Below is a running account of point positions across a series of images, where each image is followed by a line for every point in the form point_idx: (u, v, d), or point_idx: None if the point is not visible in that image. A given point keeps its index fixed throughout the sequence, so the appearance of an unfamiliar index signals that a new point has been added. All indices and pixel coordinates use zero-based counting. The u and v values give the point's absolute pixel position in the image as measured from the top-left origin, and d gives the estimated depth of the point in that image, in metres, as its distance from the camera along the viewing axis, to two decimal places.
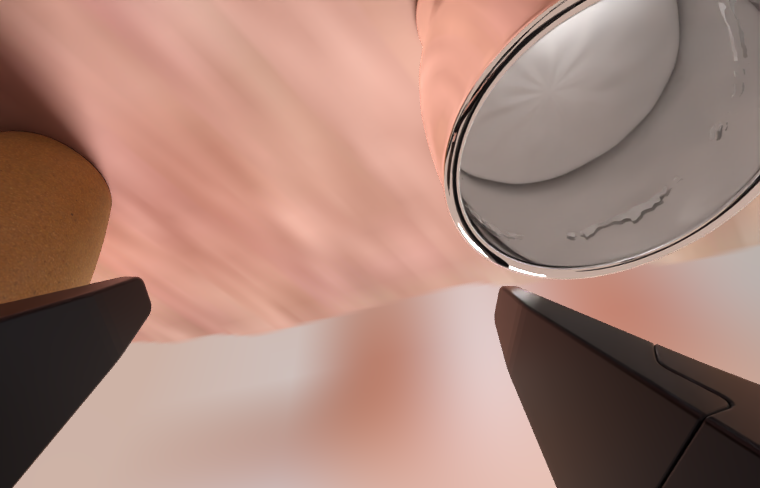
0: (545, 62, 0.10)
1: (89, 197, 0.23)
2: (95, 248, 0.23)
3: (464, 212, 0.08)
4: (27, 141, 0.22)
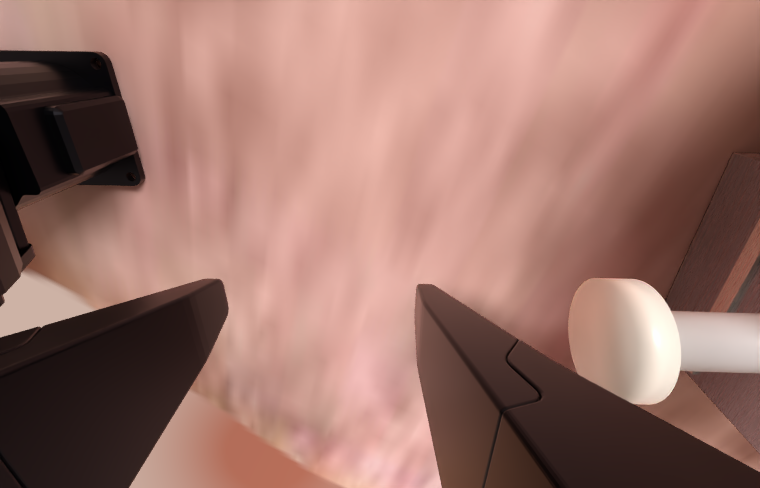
0: None
1: None
2: None
3: None
4: None
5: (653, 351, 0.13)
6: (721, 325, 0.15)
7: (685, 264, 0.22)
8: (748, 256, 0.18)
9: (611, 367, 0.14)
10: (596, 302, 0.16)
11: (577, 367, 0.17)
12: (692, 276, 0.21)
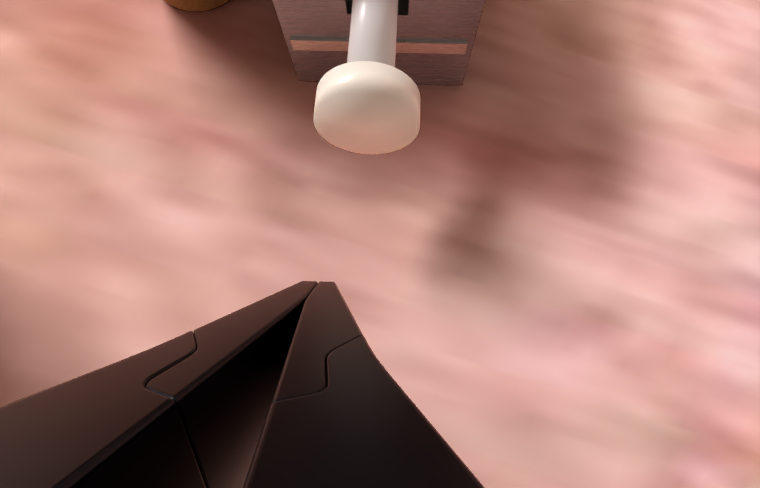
0: None
1: None
2: None
3: None
4: None
5: (333, 85, 0.16)
6: (348, 46, 0.18)
7: None
8: None
9: (371, 109, 0.16)
10: (342, 135, 0.18)
11: (414, 134, 0.18)
12: None
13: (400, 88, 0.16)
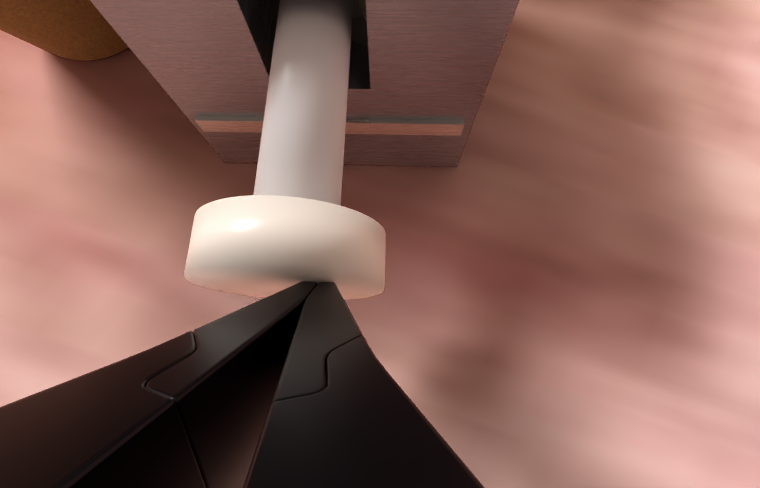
0: None
1: None
2: None
3: None
4: (66, 45, 0.19)
5: (207, 241, 0.08)
6: (261, 135, 0.11)
7: (349, 162, 0.19)
8: None
9: (287, 276, 0.09)
10: (252, 290, 0.11)
11: (376, 292, 0.10)
12: (355, 154, 0.18)
13: (339, 244, 0.08)
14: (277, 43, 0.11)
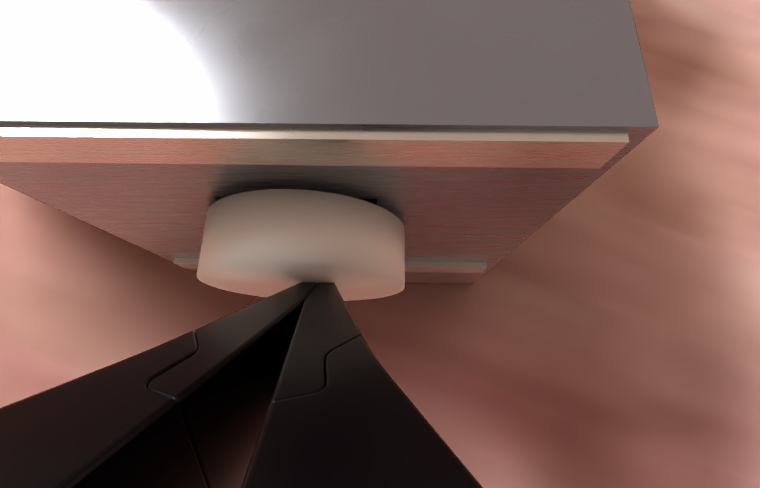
0: None
1: None
2: None
3: None
4: None
5: (222, 238, 0.08)
6: None
7: None
8: None
9: (306, 275, 0.08)
10: (265, 290, 0.10)
11: (394, 291, 0.10)
12: None
13: (361, 241, 0.08)
14: None
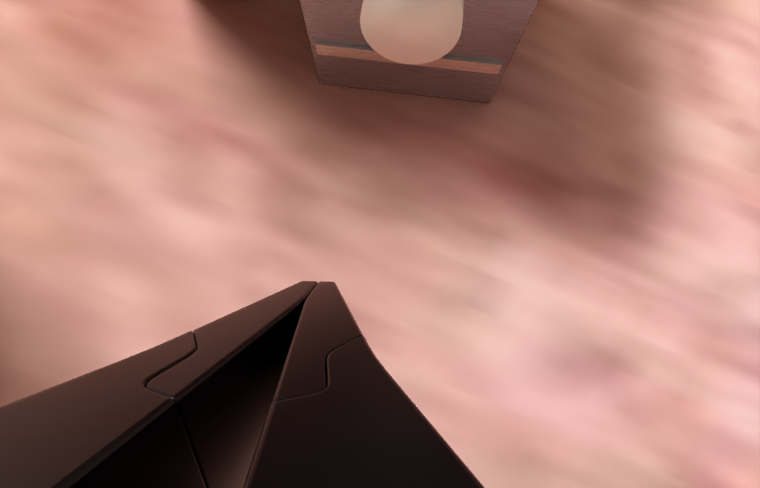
0: None
1: None
2: None
3: None
4: None
5: None
6: None
7: (412, 91, 0.26)
8: (376, 56, 0.23)
9: (418, 5, 0.17)
10: (384, 37, 0.19)
11: (453, 41, 0.19)
12: (418, 85, 0.25)
13: None
14: None
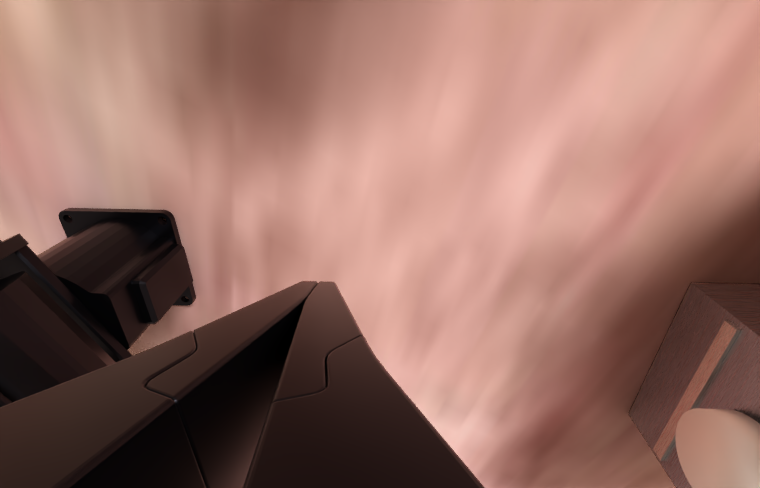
0: None
1: None
2: None
3: None
4: None
5: None
6: None
7: (655, 363, 0.26)
8: (702, 374, 0.22)
9: None
10: (712, 432, 0.19)
11: (688, 477, 0.21)
12: (661, 375, 0.25)
13: None
14: None
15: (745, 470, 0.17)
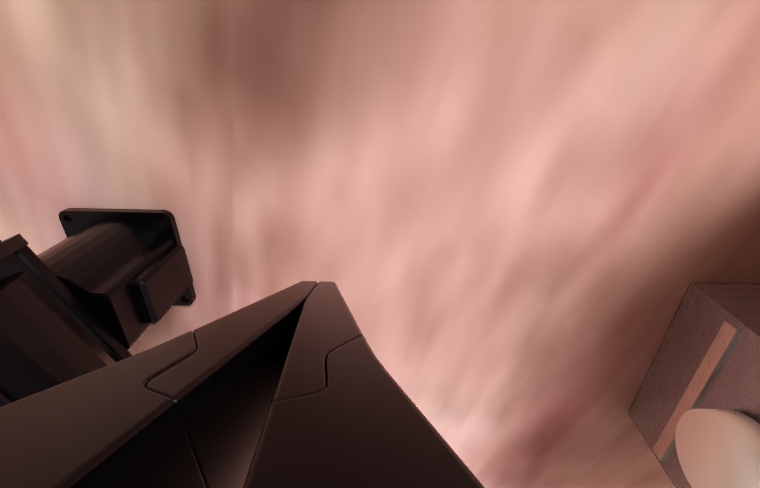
0: None
1: None
2: None
3: None
4: None
5: None
6: None
7: (655, 364, 0.26)
8: (702, 375, 0.22)
9: None
10: (712, 432, 0.19)
11: (688, 477, 0.21)
12: (660, 376, 0.25)
13: None
14: None
15: (745, 470, 0.17)
